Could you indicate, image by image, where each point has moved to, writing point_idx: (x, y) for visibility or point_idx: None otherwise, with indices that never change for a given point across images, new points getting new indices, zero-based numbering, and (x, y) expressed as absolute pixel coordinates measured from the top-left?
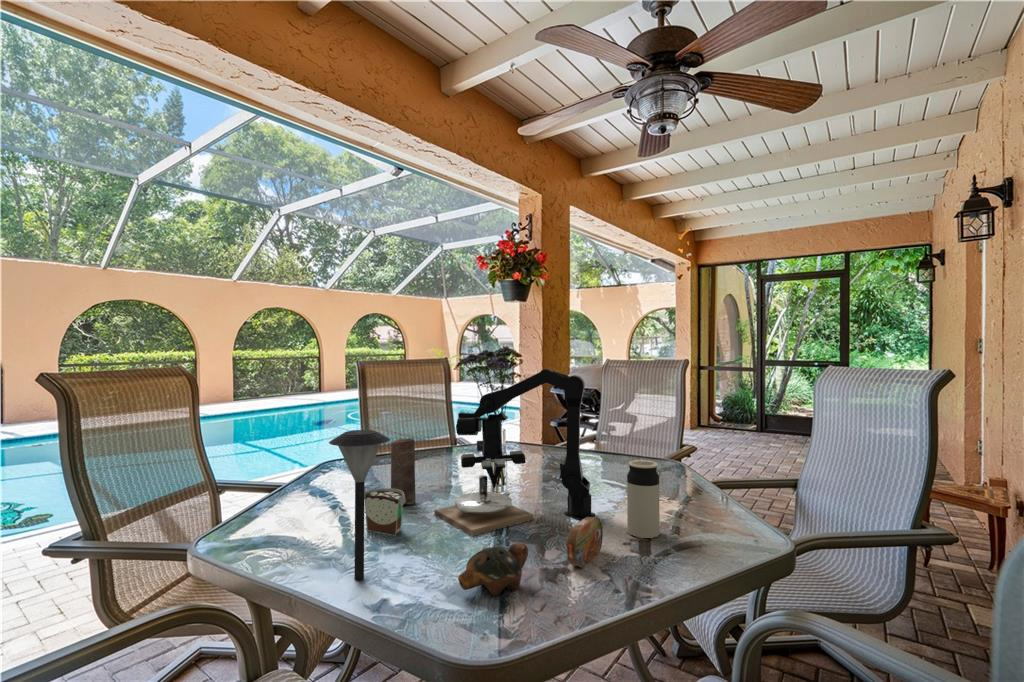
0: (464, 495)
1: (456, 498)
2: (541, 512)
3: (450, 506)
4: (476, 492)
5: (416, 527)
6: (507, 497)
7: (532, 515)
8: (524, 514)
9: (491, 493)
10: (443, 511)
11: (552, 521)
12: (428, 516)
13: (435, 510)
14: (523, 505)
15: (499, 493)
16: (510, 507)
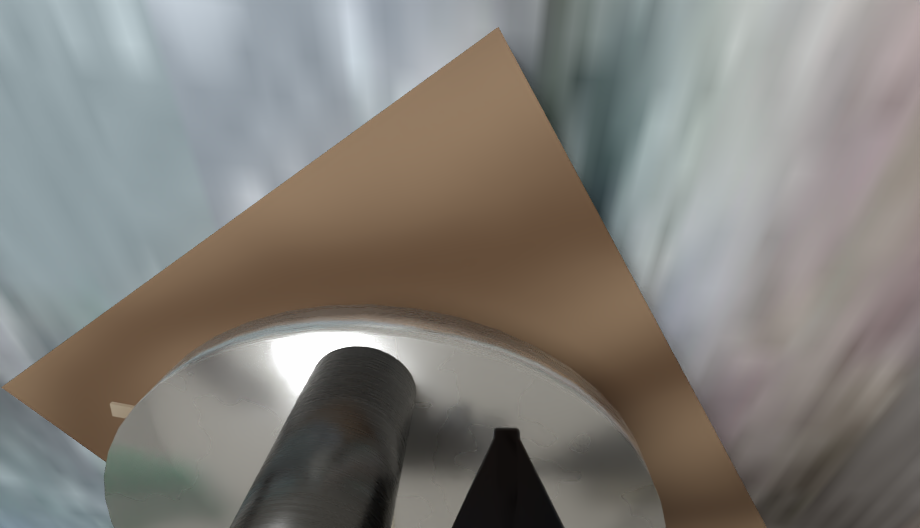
0: (151, 428)
1: (108, 500)
2: (887, 378)
3: (91, 326)
4: (265, 341)
5: (50, 513)
6: (636, 521)
7: (755, 523)
8: (701, 523)
9: (469, 393)
10: (92, 426)
11: (856, 519)
12: (12, 377)
13: (15, 393)
14: (824, 184)
15: (573, 405)
16: (640, 395)
